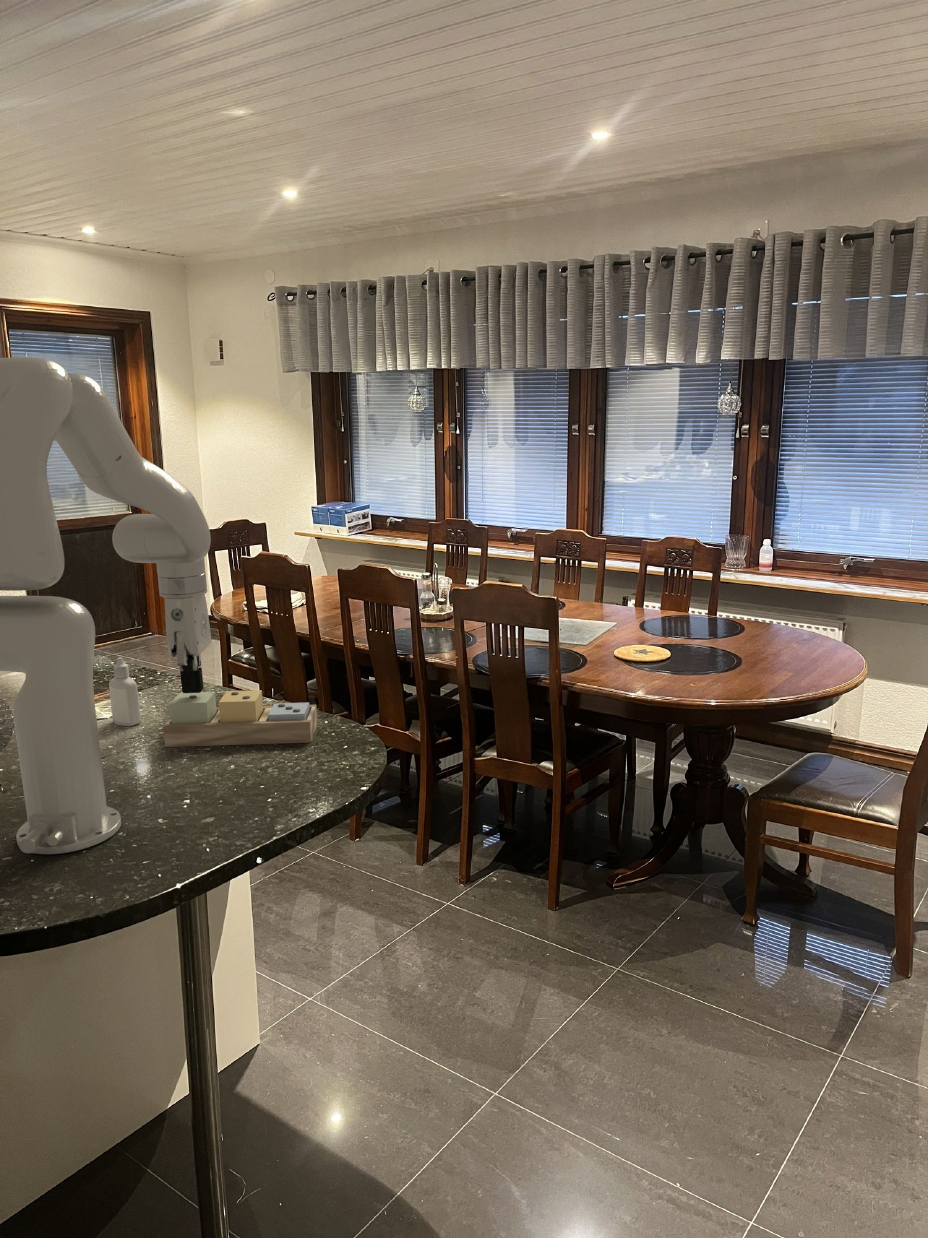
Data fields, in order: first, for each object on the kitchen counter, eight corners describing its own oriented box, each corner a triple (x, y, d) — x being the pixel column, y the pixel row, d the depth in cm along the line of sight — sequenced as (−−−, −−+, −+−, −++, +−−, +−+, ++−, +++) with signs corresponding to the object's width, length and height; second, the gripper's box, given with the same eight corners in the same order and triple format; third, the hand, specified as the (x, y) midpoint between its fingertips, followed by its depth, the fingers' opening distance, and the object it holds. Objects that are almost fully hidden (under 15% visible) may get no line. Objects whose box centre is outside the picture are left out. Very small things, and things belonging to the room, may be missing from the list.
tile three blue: (305, 734, 149) (304, 712, 149) (269, 735, 149) (268, 713, 148) (310, 722, 155) (309, 701, 154) (275, 723, 155) (274, 702, 154)
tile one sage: (208, 723, 148) (206, 701, 148) (171, 724, 148) (169, 702, 147) (216, 712, 154) (214, 690, 153) (181, 713, 154) (179, 691, 153)
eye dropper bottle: (115, 729, 156) (108, 663, 154) (112, 720, 161) (104, 656, 159) (141, 725, 158) (135, 660, 156) (137, 716, 163) (130, 652, 160)
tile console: (310, 742, 148) (309, 721, 147) (165, 747, 147) (163, 726, 147) (317, 724, 157) (316, 704, 156) (179, 728, 156) (178, 708, 155)
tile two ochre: (256, 722, 149) (255, 699, 148) (220, 723, 148) (218, 701, 148) (263, 710, 154) (261, 689, 154) (228, 711, 154) (226, 690, 153)
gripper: (194, 593, 139) (204, 705, 143) (216, 576, 153) (225, 677, 158) (145, 595, 139) (157, 706, 143) (172, 577, 153) (182, 679, 157)
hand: (193, 691), depth 150 cm, fingers closed
